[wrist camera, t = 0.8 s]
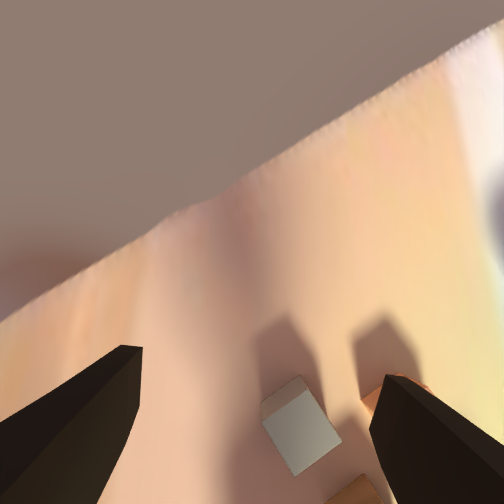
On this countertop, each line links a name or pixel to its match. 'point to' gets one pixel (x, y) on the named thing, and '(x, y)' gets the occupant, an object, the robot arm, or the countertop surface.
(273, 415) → the slate block
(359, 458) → the countertop surface
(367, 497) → the walnut block
